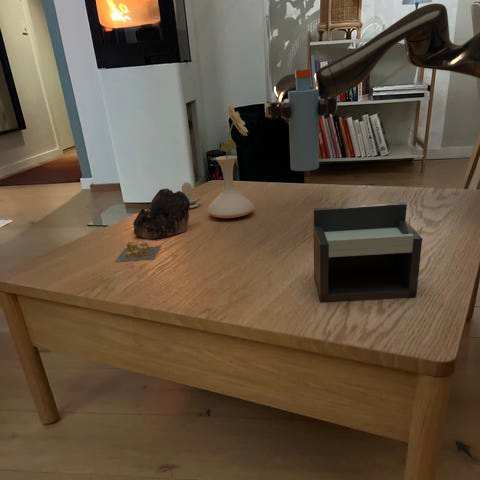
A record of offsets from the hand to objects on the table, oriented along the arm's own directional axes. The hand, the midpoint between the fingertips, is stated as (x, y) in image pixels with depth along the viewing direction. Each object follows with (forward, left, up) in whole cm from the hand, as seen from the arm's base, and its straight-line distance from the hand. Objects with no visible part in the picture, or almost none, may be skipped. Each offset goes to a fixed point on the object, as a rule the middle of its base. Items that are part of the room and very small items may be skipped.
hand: (305, 110), depth 81 cm
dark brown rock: (+32, -18, -25) cm, 44 cm away
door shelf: (-7, +19, -25) cm, 32 cm away
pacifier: (+29, -39, -25) cm, 54 cm away
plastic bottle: (0, -3, -10) cm, 10 cm away
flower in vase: (+16, -28, -25) cm, 40 cm away
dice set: (+34, -3, -25) cm, 42 cm away
